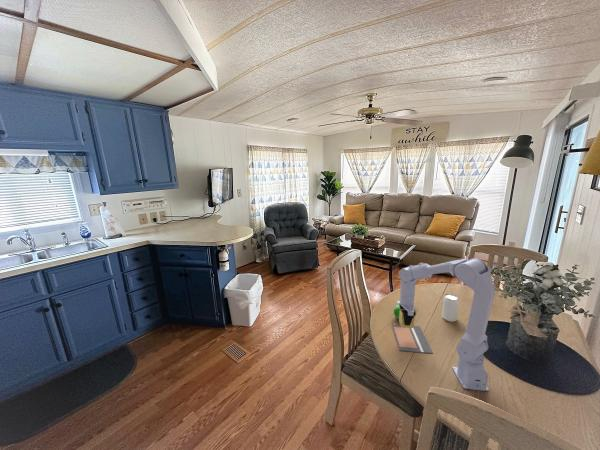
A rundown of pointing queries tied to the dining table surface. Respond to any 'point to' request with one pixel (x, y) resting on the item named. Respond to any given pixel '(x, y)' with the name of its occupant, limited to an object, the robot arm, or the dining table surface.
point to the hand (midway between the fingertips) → (405, 321)
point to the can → (450, 307)
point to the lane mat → (411, 339)
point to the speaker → (397, 310)
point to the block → (401, 320)
